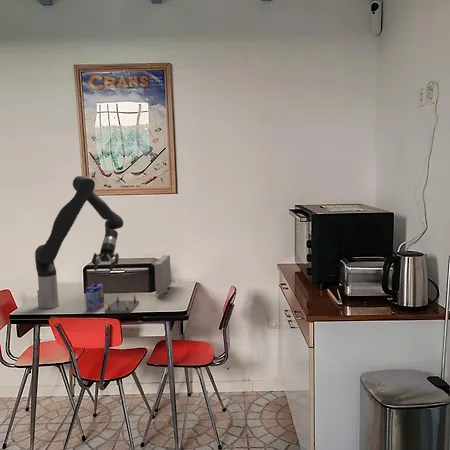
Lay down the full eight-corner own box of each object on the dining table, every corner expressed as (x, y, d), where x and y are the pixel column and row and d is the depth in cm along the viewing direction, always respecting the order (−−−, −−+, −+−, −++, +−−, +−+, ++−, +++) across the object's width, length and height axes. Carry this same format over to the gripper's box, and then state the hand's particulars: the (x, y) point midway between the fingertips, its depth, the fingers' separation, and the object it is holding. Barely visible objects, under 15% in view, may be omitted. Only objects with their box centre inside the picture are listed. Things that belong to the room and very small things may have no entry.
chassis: (104, 313, 223) (104, 302, 222) (115, 303, 239) (115, 293, 239) (130, 313, 222) (129, 302, 221) (139, 303, 238) (138, 293, 238)
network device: (166, 298, 247) (165, 263, 245) (151, 298, 248) (149, 263, 245) (174, 286, 272) (173, 254, 270) (160, 286, 273) (159, 254, 271)
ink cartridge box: (95, 312, 225) (94, 284, 224) (86, 311, 227) (84, 283, 225) (105, 306, 235) (103, 279, 233) (95, 305, 236) (94, 279, 234)
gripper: (94, 242, 250) (88, 266, 240) (119, 241, 249) (113, 266, 239) (98, 249, 256) (92, 273, 246) (122, 249, 254) (117, 273, 244)
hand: (102, 270), depth 242 cm, fingers open, 8 cm apart
